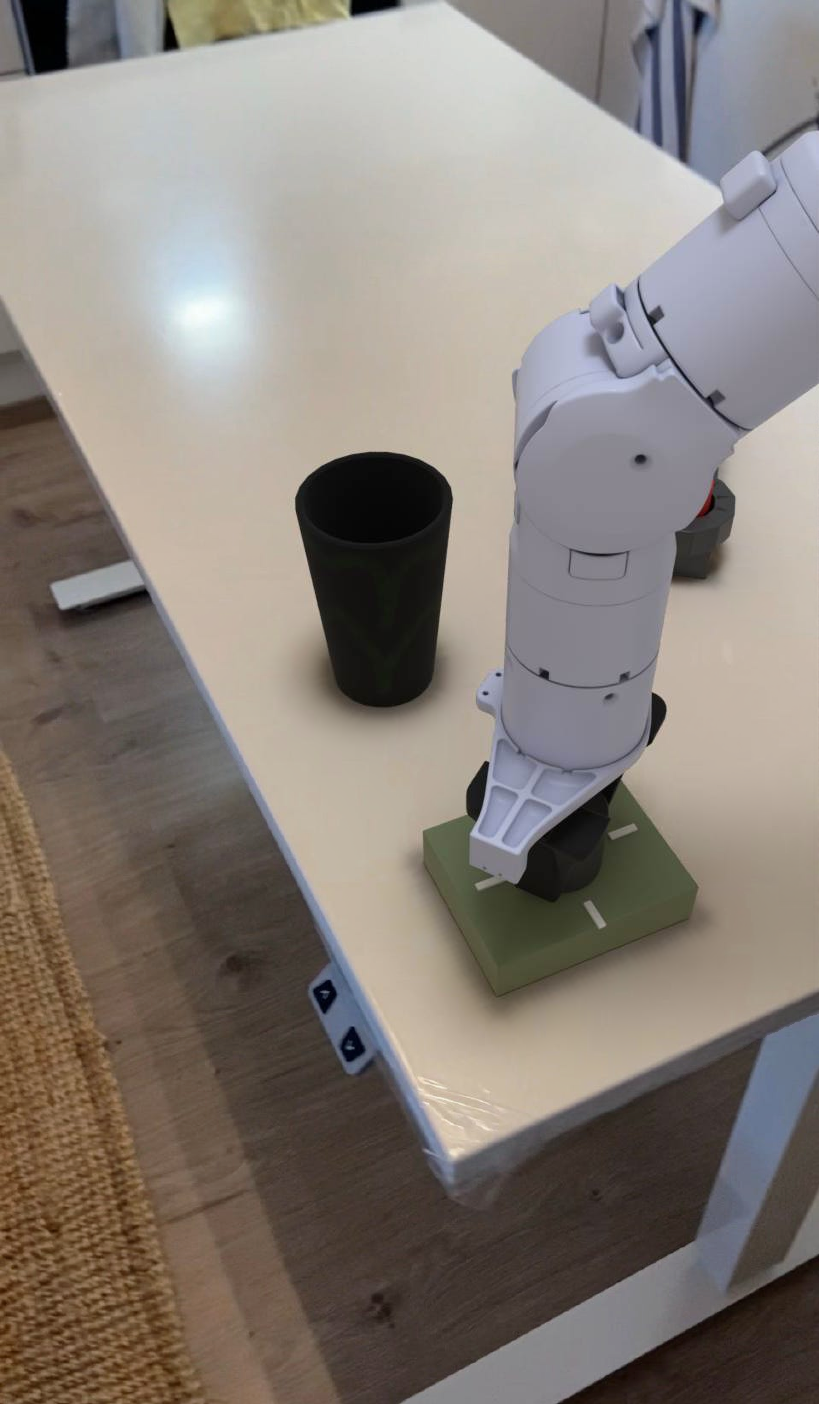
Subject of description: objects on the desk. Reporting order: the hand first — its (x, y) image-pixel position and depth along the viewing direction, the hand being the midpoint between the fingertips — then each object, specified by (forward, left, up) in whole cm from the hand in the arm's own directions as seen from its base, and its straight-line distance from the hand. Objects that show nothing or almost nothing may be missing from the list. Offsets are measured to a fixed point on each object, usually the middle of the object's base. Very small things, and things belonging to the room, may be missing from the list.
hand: (558, 850), depth 54 cm
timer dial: (0, 0, 0) cm, 0 cm away
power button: (-7, -25, +1) cm, 26 cm away
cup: (+9, -14, -3) cm, 17 cm away
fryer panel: (0, 0, -3) cm, 3 cm away
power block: (-5, -32, -3) cm, 33 cm away
